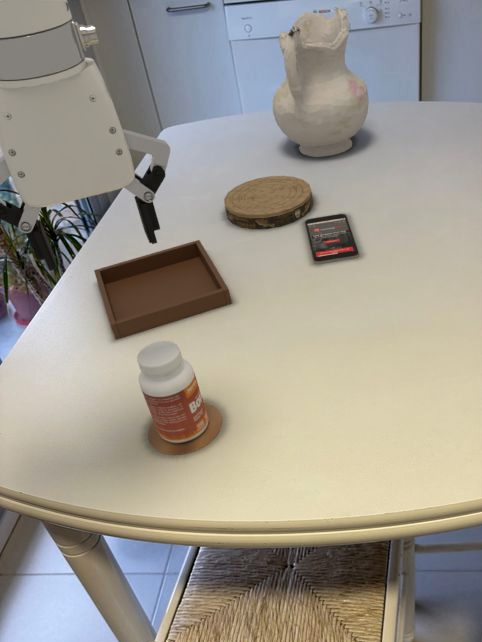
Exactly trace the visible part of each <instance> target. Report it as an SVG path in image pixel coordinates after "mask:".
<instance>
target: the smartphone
mask: <svg viewBox="0 0 482 642" xmlns="http://www.w3.org/2000/svg"><path fill="white" fill-rule="evenodd" d="M304 226H305V230H306V234H307V239H308V244H309V248H310V252H311V256H312V261H313V262H312V263H313V264H314V265H324V264H330V263H335V262H336V263H337V262H342V261H347V260H348V261H349V260H354V259H358V258H359V257H360V252H359V249H358V246H357V243H356V240H355V237H354V234H353V232H352V228H351V225H350V221H349V219H348V216H347V214H345V213H338V214H331V215H324V216H319V217H313V218H307V219H305V220H304Z"/></svg>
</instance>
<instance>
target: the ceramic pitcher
mask: <svg viewBox="0 0 482 642" xmlns="http://www.w3.org/2000/svg"><path fill="white" fill-rule="evenodd" d="M346 9H347V8H344V7H343V8H341V7H337V6H335V7H334V10H335V13H334V15H333V16H332V17H330V18H329V17H328V16H326V15H324V14H322V13H320V12H317V13H315V12H312V11H306V12H304V13H301V15H300V16H298V17H297V18H296V19H295V21H294V23H293V25H292V27H291V29H289V30H288V31H287V32H286V31H280V33H279V35H278V43H279V48H280V50H281V53H282V55H283V63H284V71H285V78H284V80H283V81H282V82H281V84H280V85H279V87H278V88H277V90H276V91H275V93H274V95H273V99H272V113H273V117H274V120H275V122H276V125H277V127H278V128H279V129H280V131H281V132H282V133H283V134H284V135H285V136H286V137H287V138H288V139H289V140H290V141H292V142H293V143H295V144H297V145H299V147H298V150H299V151H300V153H301V154H303V155H305V156H307V157H314V158H319V157H321V158H322V157H330V156H336V155H339V154H341V153H344V152H346V151H348V150H350V149H351V148H352V147H353V141H352V140H351V138H352V137H354V136H355V135H357V133H358V132H359V131H360V130H361V128H362V127H363V125H364V123H365V121H366V119H367V116H368V113H369V105H370V101H369V91H368V87H367V84H366V83H365V81H364V80H363V79H362V78H361V77H359V76H358V75H357V74H355V73H353V72H352V70H350V69H349V68H348V66H347V64H346V48H347V43H348V40H349V36H350V32H349V30H350V29H349V25H350V23H349V18H348V15H349V14H348V13H347V10H346Z"/></svg>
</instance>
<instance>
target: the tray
mask: <svg viewBox="0 0 482 642" xmlns="http://www.w3.org/2000/svg"><path fill="white" fill-rule="evenodd" d="M94 275H95V279H96V283H97V285H98V289H99V292H100V295H101V296H100V297H101V299H102V302H103V306H104V310H105V312H106V315H107V319H108V323H109V326H110V328H111V331H112V333H113V336H114V338H115V340H116V341H117V340H120V339H123V338H127V337H130V336H133V335H137V334H139V333H143V332H146V331H148V330H152V329H155V328H158V327H161V326H164V325H165V326H166V325H168V324H171V323H175V322H177V321H178V322H179V321H180V320H184V319H186V318H187V319H188V318H191V317H193V316H196V315H197V316H198V315H200V314H202V313H206V312H210V311H213V310H215V309H219V308H221V307H225V306H229V305H231V304H233V302H232V297H231V293H230V290H229V288H228V286H227V284H226V283H225V281H224V279H223V277H222V276H221V274H220V271H218V269H217V268H216V266H215V264H214V263H213V260H212V259H211V257H210V256H209V253H208V252H207V250H206V248H205V247H204V245H203V244H202V242H201V240H200V239H197V240H195V241H194V240H193V241H190V242H187V243H183V244H179V245H176V246H173V247H170V248H166V249H163V250H162V249H161V250H159V251H155V252H152V253H149V254H145V255H141V256H139V257H138V256H137V257H134V258H131V259H128V260H125V261H121V262H117V263H114V264H111V265H107V266H104V267H100V268H96V269H94Z"/></svg>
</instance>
